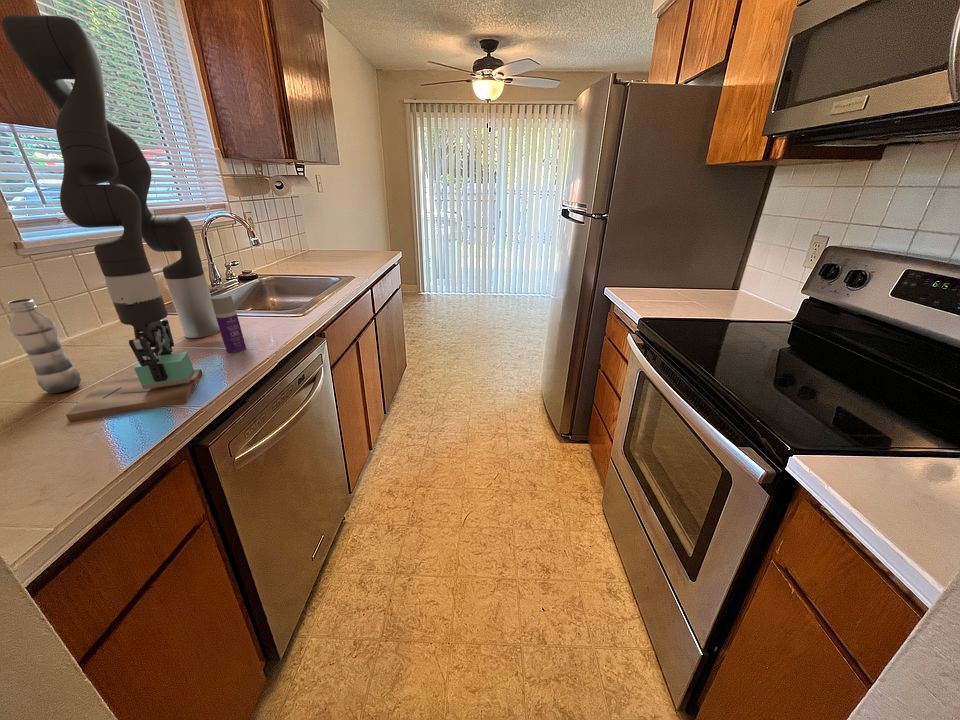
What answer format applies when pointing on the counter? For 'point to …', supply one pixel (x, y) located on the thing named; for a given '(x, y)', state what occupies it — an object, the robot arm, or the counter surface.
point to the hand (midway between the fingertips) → (166, 374)
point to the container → (228, 324)
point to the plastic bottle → (42, 347)
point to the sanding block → (168, 371)
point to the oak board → (130, 397)
